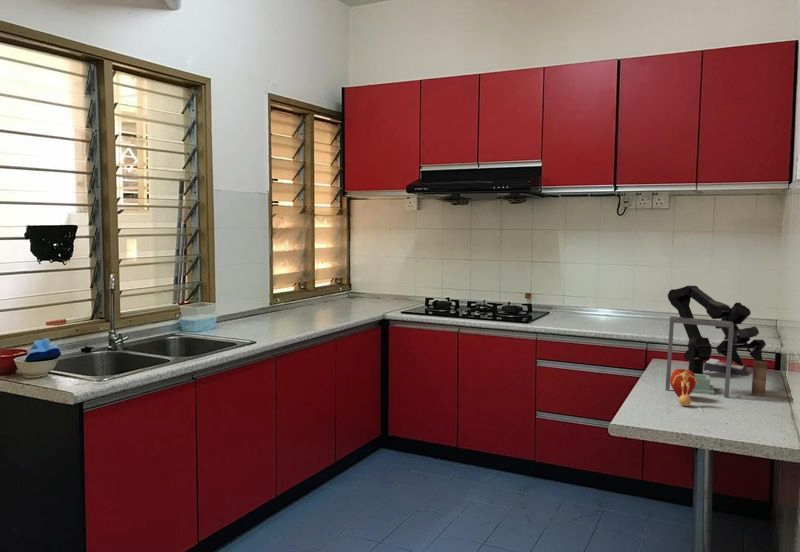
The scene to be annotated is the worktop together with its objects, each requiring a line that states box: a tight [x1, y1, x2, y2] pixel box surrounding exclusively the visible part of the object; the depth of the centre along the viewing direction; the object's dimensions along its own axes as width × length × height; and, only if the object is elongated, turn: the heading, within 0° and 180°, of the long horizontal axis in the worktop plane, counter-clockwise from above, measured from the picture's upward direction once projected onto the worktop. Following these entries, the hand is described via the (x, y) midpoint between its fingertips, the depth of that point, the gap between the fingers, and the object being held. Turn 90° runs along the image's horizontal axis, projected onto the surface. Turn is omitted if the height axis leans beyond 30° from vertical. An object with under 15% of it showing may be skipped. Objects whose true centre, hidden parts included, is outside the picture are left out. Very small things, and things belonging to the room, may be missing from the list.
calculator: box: [703, 358, 747, 376], centre depth 279 cm, size 11×4×15 cm
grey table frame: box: [665, 316, 734, 399], centre depth 240 cm, size 8×21×27 cm, turn 66°
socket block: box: [691, 374, 715, 396], centre depth 245 cm, size 12×12×5 cm
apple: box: [670, 368, 696, 398], centre depth 231 cm, size 9×8×11 cm
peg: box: [750, 360, 768, 398], centre depth 238 cm, size 4×4×12 cm
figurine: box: [672, 371, 698, 407], centre depth 222 cm, size 8×6×12 cm
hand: (752, 365), depth 241 cm, fingers open, 9 cm apart
